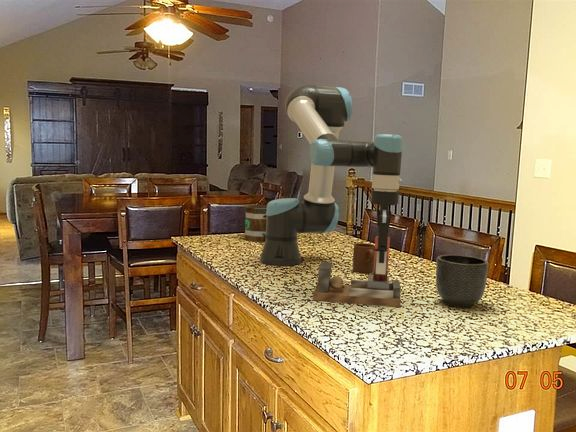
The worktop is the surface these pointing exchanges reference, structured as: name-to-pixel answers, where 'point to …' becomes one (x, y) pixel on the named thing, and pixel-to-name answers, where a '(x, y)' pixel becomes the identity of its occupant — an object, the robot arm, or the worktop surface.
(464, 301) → the planter
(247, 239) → the mug
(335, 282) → the walnut
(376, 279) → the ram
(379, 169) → the robot arm
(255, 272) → the worktop surface
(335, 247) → the worktop surface
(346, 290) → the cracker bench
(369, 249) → the mug
